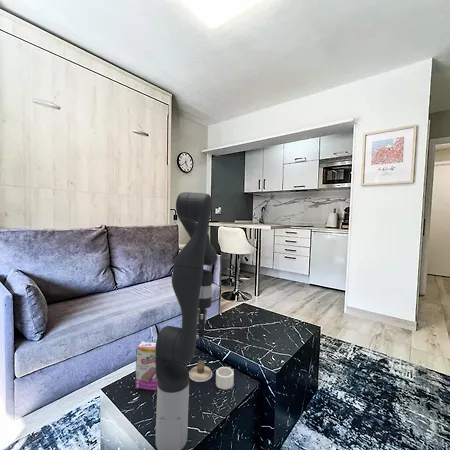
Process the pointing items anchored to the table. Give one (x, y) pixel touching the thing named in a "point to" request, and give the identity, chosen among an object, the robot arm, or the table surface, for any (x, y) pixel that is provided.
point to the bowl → (224, 378)
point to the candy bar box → (146, 366)
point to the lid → (200, 371)
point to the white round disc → (200, 380)
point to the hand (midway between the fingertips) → (201, 332)
